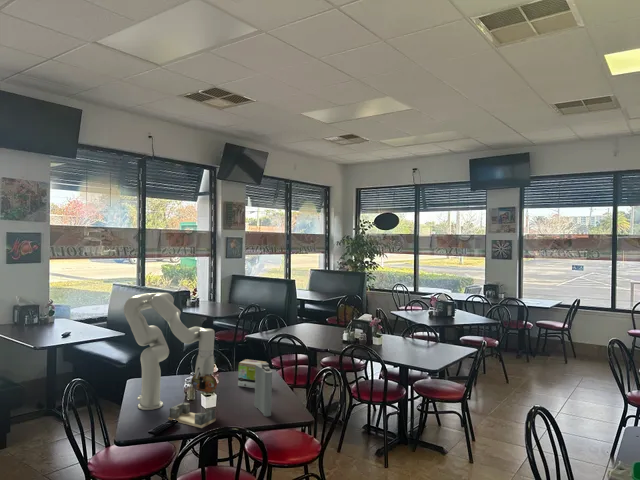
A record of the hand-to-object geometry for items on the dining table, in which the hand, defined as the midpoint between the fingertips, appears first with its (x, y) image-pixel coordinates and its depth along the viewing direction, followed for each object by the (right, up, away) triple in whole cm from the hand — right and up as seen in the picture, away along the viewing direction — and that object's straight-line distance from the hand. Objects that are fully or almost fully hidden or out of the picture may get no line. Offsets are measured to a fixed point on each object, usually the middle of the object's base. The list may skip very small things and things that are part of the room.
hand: (204, 387), depth 246 cm
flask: (+30, -13, +4) cm, 33 cm away
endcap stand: (-3, -12, -12) cm, 17 cm away
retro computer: (+19, -13, +46) cm, 51 cm away
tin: (0, -2, 0) cm, 2 cm away
